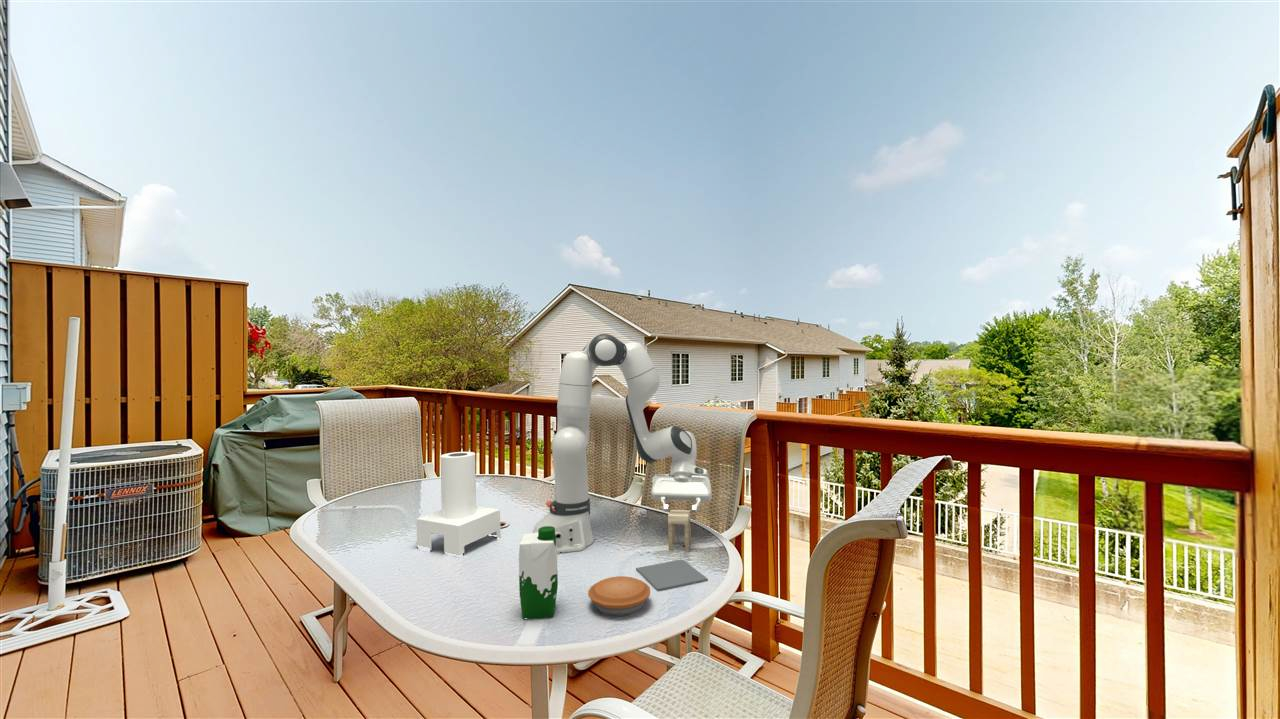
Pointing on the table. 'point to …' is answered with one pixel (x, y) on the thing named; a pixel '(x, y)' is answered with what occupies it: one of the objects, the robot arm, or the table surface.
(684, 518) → the stool
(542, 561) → the milk carton
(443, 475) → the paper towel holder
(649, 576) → the mat
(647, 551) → the table surface
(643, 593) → the pie
